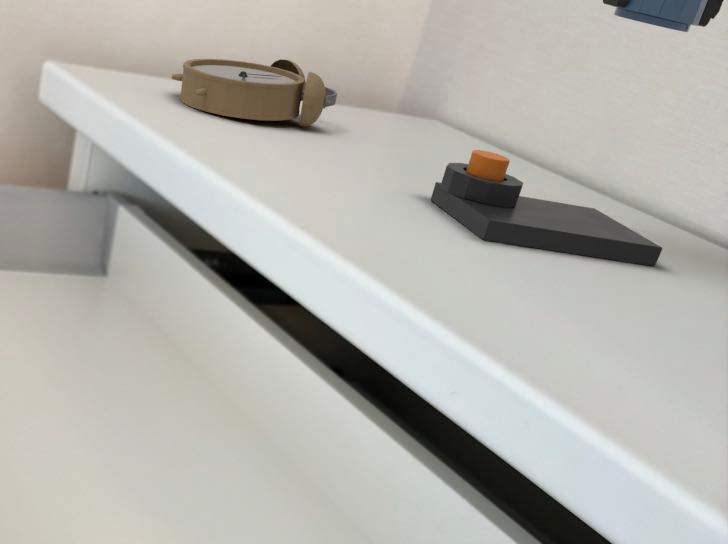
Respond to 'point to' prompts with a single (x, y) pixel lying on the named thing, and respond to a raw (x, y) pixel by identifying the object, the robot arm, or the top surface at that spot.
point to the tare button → (488, 165)
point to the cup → (664, 12)
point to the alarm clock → (254, 90)
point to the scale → (536, 219)
